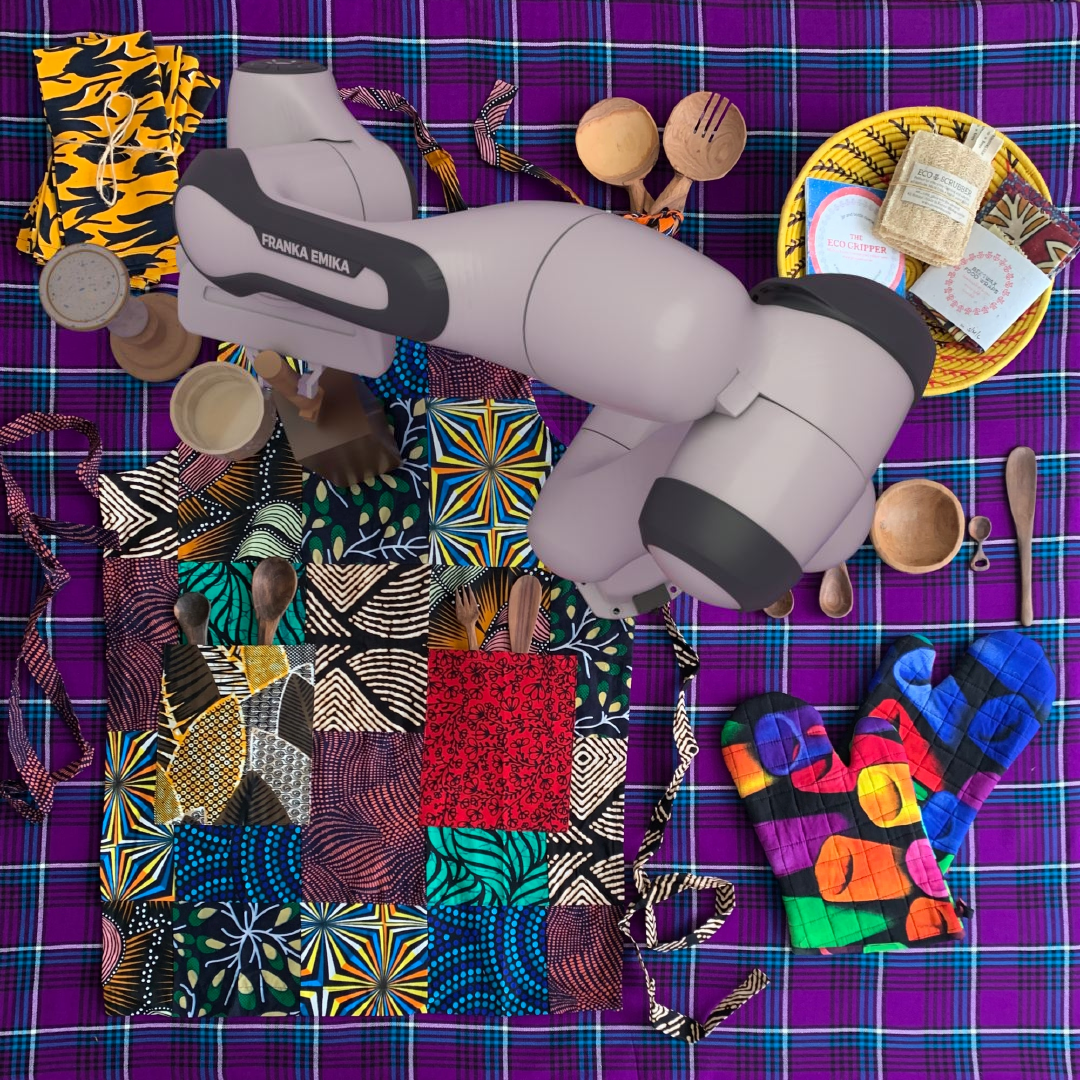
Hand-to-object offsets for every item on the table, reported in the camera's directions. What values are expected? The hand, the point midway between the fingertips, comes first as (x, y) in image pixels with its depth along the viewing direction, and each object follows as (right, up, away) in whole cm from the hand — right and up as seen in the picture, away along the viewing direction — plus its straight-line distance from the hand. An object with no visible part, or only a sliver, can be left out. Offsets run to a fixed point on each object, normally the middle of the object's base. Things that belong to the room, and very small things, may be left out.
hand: (288, 389), depth 90 cm
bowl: (-17, +2, +34) cm, 38 cm away
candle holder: (-27, +13, +35) cm, 46 cm away
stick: (0, 0, +9) cm, 9 cm away
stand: (+1, -2, +33) cm, 33 cm away
